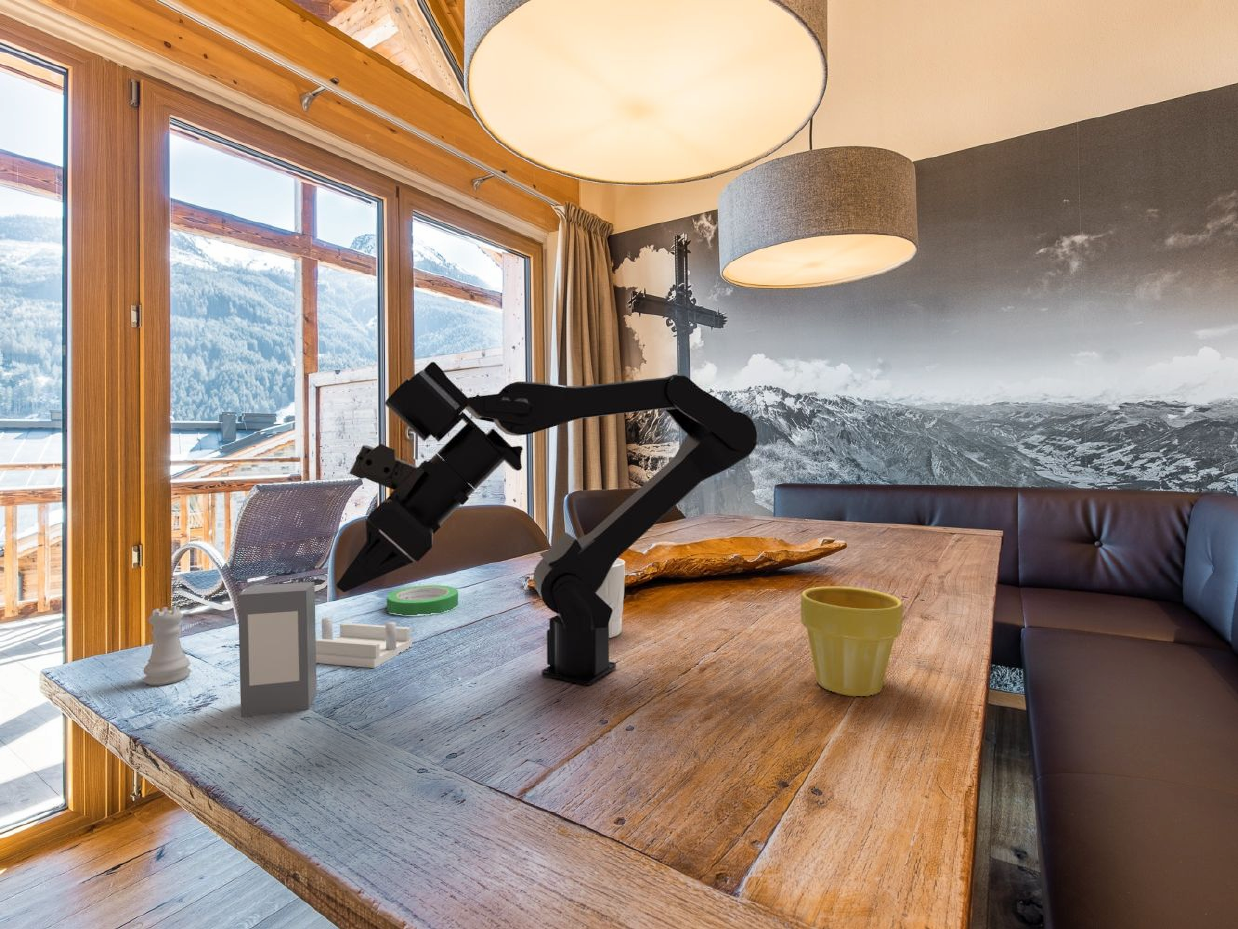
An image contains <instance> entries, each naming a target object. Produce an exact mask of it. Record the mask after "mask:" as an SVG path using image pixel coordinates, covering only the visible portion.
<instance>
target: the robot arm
mask: <svg viewBox="0 0 1238 929" xmlns="http://www.w3.org/2000/svg"><path fill="white" fill-rule="evenodd" d="M384 405H385V406H386V407H387V408H389V410H390V411H391V412H392V413H393V414H395V416H397V417H398V419H399V420H401V421H402V422H403V423H404V424H405V425H406V426H407V427H408V428H409V429H410V430H411V431H413V432H414V434H416V435H417V436H418V437H419V438H420V440H422V442H426V440H428V439H429V438H430V437H431V436H432V438H433V439H434V440H436V441H437V442H438V443H439V442H440V441H441V440H443V439H444V437H445V436H447V435H448V434H449V433H450V432H451V431H452V430H453V429H454V428H455V427H456V426H457V425H458V424H459V423H460V422H461V421H463V422H464V423H465V425H464V426H463V427H462V428H461V429H460V430H459V431H457V433H456V434H455V435H453V437H452V438H451V439H450V440H449V441H447V442H446V443H445V444H444V445H443V446H442V447H441V448H440V449H439V450H438V451H437V452H436V453H435V454H434V455H433V456H432V457H431V458H430V459H429V460H427V459H425V460H423V462H421V463H420V464H419V465H418V466H416V465H414V464H412V463H409V462H407V461H405V460H403V459H400V458H399V457H397V452H396V449H395V448H391V447H389V446H387V445H385V444H383V443H380V444H378V445H377V446H376V447H372V446H370V445H366V444H365V445H362V446H361V448H360V451H359V452H358V454H357V455H356V456H355V460H354V463H353V465H352V467H351V469H350V471H349V474H350V475H353V476H354V477H357V478H359V479H361V480H364V479H366V480H369V481H371V482H373V483H376V484H378V485H381V486H383V487H385V488H388V489H391V490H393V491H391V492H390V493H389V496H388V497H387V498H386V499H384V500H383V501H382V502H381V503H380V504H379V505H378V506H377V507H376V508H375V509H373V510H372V511H371V513H369V515H367V517H366V519H365V522H364V526H365V536H366V537H365V538H366V540H365V543H364V544H363V546H361V549H360V550H359V551H358V553H357V554H356V556H354V558H353V560H352V561H351V563H350V564H349V566H348V567H347V569H346V570H345V571H344V572H343V574H342V576H341V577H340V579H339V580H338V582H336V585H335V586H336V587H337V589H339V590H340V592H342V593H347V592H349V591H351V590H354V589H355V588H358V587H360V586H362V585H364V584H367V583H369V582H371V581H374V580H376V579H378V578H381V577H383V576H384V575H387V574H390V573H392V572H395V571H397V570H399V569H402V568H404V567H406V566H410V565H413V564H414V563H415V561H416V562H419V561H420V560H421V559H422V558H423V557H425V555H426V554H428V552H429V551H430V550H431V549H432V548H433V543H434V542H433V541H434V540H433V538H434V537H433V535H435V533H436V532H438V531H439V529H440V528H441V527H442V524H443V523H444V522H445V521H446V520H447V519H448V518H449V517H450V516H451V515H452V514H453V513H454V512H455V511H456V510H457V509H458V508H459V507H460V506H463V505H464V504H465V503H466V502H467V501H468V500H469V499H470V496H471V495H472V494H473V493H474V492H475V491H476V490H477V489H478V487H480V486H481V485H482V484H483V482H484V481H485V480H486V479H488V478H489V477H490V476H491V475H492V474H493V473H494V472H495V471H496V470H497V468H499V467H500V466H501V464H503V463H504V462H505V464H507V465H508V466H509V467H510V468H511V469H513V470H514V471H517V472H518V471H521V470H522V468H523V466H522V452H523V449H524V448H523V446H521V445H516V446H511V444H510V443H509V442H508V441H506V440H505V438H504V437H503V436H502V435H501V434H499V432H498V431H496V430H495V428H491V429H490V430H489V431H488V432H487V433H485V432H484V431H483V430H482V429H481V427H479V426H478V425H477V424H476V423H475V422H474V421H473V420H472V419H471V418H470V417H469V416H468V415H467V414H466V413H465V412H464V410H466V411H468V413H470V415H471V416H473V417H474V419H476V420H481V421H484V422H489V423H494V425H495V426H496V428H497V429H499V430H500V431H502V432H503V433H504V434H506V435H509V436H512V437H513V436H514V437H519V436H520V437H521V436H527V435H530V434H533V433H538V432H540V431H544V430H547V429H550V428H554V427H557V426H560V425H563V424H565V423H568V422H572V421H575V420H580V419H581V420H582V419H588V418H598V417H603V416H614V415H622V414H629V413H639V412H647V411H654V410H656V411H657V410H663V411H664V412H665V413H666V414H668V415H669V417H670V418H671V419H672V420H673V422H674V423H675V424H676V425H677V426H678V427H679V429H680V430H681V431H682V432H684V433H685V434H686V436H685V437H683V438H684V439H683V440H682V442H681V444H680V445H679V448H678V450H677V452H676V454H675V455H674V457H673V458H672V459H671V460H669V462H668V463H666V465H664V466H663V467H662V468H660V469H659V471H658V472H656V473H655V474H653V476H652V477H651V478H650V479H648V480H647V481H646V482H645V483H644V484H643V485H642V486H641V487H640V488H638V489H637V490H636V491H635V492H634V493H633V494H632V495H631V496H629V497H628V498H627V499H626V500H624V501H623V503H621V505H619V506H618V507H617V508H616V509H615V510H613V511H612V513H610V514H609V515H608V516H607V517H606V518H605V519H604V520H602V522H600V523H599V524H598V525H597V526H596V527H595V528H594V529H593V530H591V531H590V532H589V533H586V534H585V535H582V536H580V537H578V538H575V537H573V535H571V534H570V533H568V532H564V533H563V534H562V535H561V537H559V539H557V541H556V543H555V544H554V545H553V546H552V547H550V548H549V549H547V550H545V551H542V552H540V553H539V555H540V557H541V558H542V559H541V560H540V561H539V562H538V563H537V564H536V565H535V568H534V571H533V572H534V573H533V578H532V579H533V585H534V589H535V590H536V592H537V593H538V595H539V597H540V599H541V600H542V601H543V603H544V604H545V606H546V608H548V609H549V610H550V611H552V612H554V613H555V614H556V615H555V616H552V617H550V618H549V619H548V620H549V621H548V622H549V624H548V626H549V627H548V629H547V630H546V664H547V665H548V666H547V667H545V668H543V669H542V670H541V676H543V677H548V678H549V677H550V678H553V679H558V680H561V681H567V682H572V683H575V684H581V685H584V686H588V685H592V684H593V683H595V682H596V681H598V680H599V679H601V678H602V677H604V676H605V675H607V674H608V673H609V672H612V671H613V670H614V669H616V667H617V663H616V662H614V661H610V638H609V621H610V618H611V615H612V611H613V610H612V608H611V607H610V606H609V605H608V604H607V603H606V602H605V601H604V600H603V599H602V598H601V597H599V596H598V595H597V594H596V592H597V591H598V589H599V588H600V587H601V586H602V584H603V582H604V581H605V579H606V577H607V575H608V573H609V571H610V569H611V567H612V565H613V563H614V562H615V561H616V559H617V558H618V559H619V558H620V557H621V556H622V555H623V554H624V553H625V552H626V551H627V550H628V549H630V548H631V546H632V545H634V544H635V543H636V542H637V541H638V540H640V538H641V537H643V536H644V535H645V534H646V533H647V532H648V531H650V529H651V528H652V527H653V526H654V525H656V524H657V523H658V522H659V521H660V520H661V519H662V518H663V517H664V516H666V515H667V514H668V513H669V512H670V511H671V510H672V509H673V508H674V507H675V506H677V504H678V503H680V502H681V501H682V500H683V499H684V498H685V497H686V496H688V494H690V493H691V492H692V490H694V489H695V488H696V487H697V486H698V485H699V484H700V483H702V482H704V481H705V480H707V479H709V478H711V477H714V476H715V475H718V474H720V473H722V472H724V471H726V470H729V469H731V467H733V466H735V465H737V464H738V463H740V462H741V461H743V460H745V459H746V458H748V457H749V456H750V455H751V454H752V453H753V452H754V450H755V449H756V447H757V445H758V441H757V439H758V437H757V436H758V432H757V427H756V425H755V423H754V422H753V420H752V419H751V418H750V417H749V416H748V415H747V414H745V413H744V412H741V411H734V409H732V408H731V407H730V406H729V405H728V404H727V403H725V402H724V401H722V400H721V399H719V398H717V397H716V396H714V395H712V394H710V393H709V392H708V391H706V390H704V389H702V388H700V387H699V385H698V384H696V383H695V382H694V381H693V380H692V379H691V378H689V377H688V376H686V375H684V374H681V373H676V374H672V375H668V376H664V377H656V378H646V379H637V380H627V381H626V380H625V381H619V382H618V381H617V382H609V383H601V384H600V383H598V384H589V385H580V386H571V385H570V386H569V385H561V384H556V383H555V384H554V383H547V382H546V383H545V382H533V381H514V382H511V383H509V384H507V385H506V386H505V387H503V388H501V390H500V391H499V392H498V393H496V394H486V395H485V394H484V395H479V393H477V395H475V396H470V397H468V396H467V395H466V394H465V393H464V392H463V391H462V390H461V389H460V388H459V387H458V386H456V384H455V383H453V382H452V380H451V379H450V378H448V377H447V375H446V373H445V371H444V370H443V369H442V368H441V367H440V366H439V365H438V364H437V363H436V362H434V361H430V363H429V364H427V366H425V368H423V369H421V370H419V371H418V372H417V373H415V374H414V375H413V376H412V377H411V378H406V380H405V381H403V383H401V384H400V385H399V386H398V387H397V388H396V389H395V390H394V391H393V392H392V393H391V394H390V395H389V396H388V398H387V399H386V400H385V402H384Z"/></svg>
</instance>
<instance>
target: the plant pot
mask: <svg viewBox="0 0 1238 929" xmlns="http://www.w3.org/2000/svg"><path fill="white" fill-rule="evenodd" d="M903 614H904V605H903V602H902V600H901V599H899V598H898V597H896V596H894V595H892V594H889V593H885V592H881V591H877V590H873V589H867V588H861V587H860V588H859V587H849V586H817V587H811V588H807V589H805V590H803V591H802V593H801V595H800V622H801V624H802V625H803V627H805V628H806V630H807V635H808V636H807V637H808V641H809V646H810V652H811V656H812V664H813V667H814V673H815V679H816V681H817V683H818V685H820V687H822V688H823V689H825V690H827V691H829V692H831V691H832V693H834V692H835V693H834V694H838V695H842V696H848V697H856V696H861V697H862V696H866V697H871V696H870V695H872V696H875V695H877V693H878V692H879V693H881V691H882V687H883V683H884V680H885V677H886V672H887V669H888V665H889V660H890V657H891V653H892V649H893V646H894V642H895V639H896V638H899V636H900V635H901V633H902V628H903V616H904V615H903ZM879 693H878V694H879ZM874 694H875V695H874ZM861 697H860V698H861ZM862 698H863V697H862Z"/></svg>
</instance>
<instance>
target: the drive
mask: <svg viewBox="0 0 1238 929" xmlns="http://www.w3.org/2000/svg"><path fill="white" fill-rule="evenodd" d="M315 587H316V586H315V581H309V582H291V583H277V584H276V583H274V584H258V585H255V584H254V585H249V586H248V587H246V588H245V589H243V591H241V592H240V593H238V595H237V601H238V603H237V605H238V606H237V608H238V610H237V612H238V643H239V644H238V646H239V648H238V650H239V651H238V654H239V686H240V688H239V690H240V691H239V694H240V717H242V718H245V717H253V716H262V715H263V716H264V715H270V714H271V715H272V714H279V713H280V714H281V713H289V712H297V711H298V712H299V711H306V710H307V711H308V710H310V708H311V706H312V705H313V702H314V700H315V698H316V697H317V694H318V689H317V688H318V687H317V686H318V684H317V682H318V679H317V663H316V639H317V638H316V637H317V636H316V593H315V592H316V590H315Z"/></svg>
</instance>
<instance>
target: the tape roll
mask: <svg viewBox="0 0 1238 929" xmlns="http://www.w3.org/2000/svg"><path fill="white" fill-rule="evenodd" d="M457 605H458V606H459V590H458V589H457V588H456V587H453V586H449V585H441V584H436V585H435V584H434V585H433V584H431V585H429V584H428V585H416V586H410V587H405V588H401V589H396V590H394V591H391V592H390V593H388V594H387V596H386V612H387V611H388V612H390V613H396V614H402V615H417V614H431V613H441V612H444V611H447V610H451V609H453V608H454V607H456V606H457ZM453 610H454V609H453ZM451 611H452V610H451ZM388 612H387V613H388ZM441 614H442V613H441Z"/></svg>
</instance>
